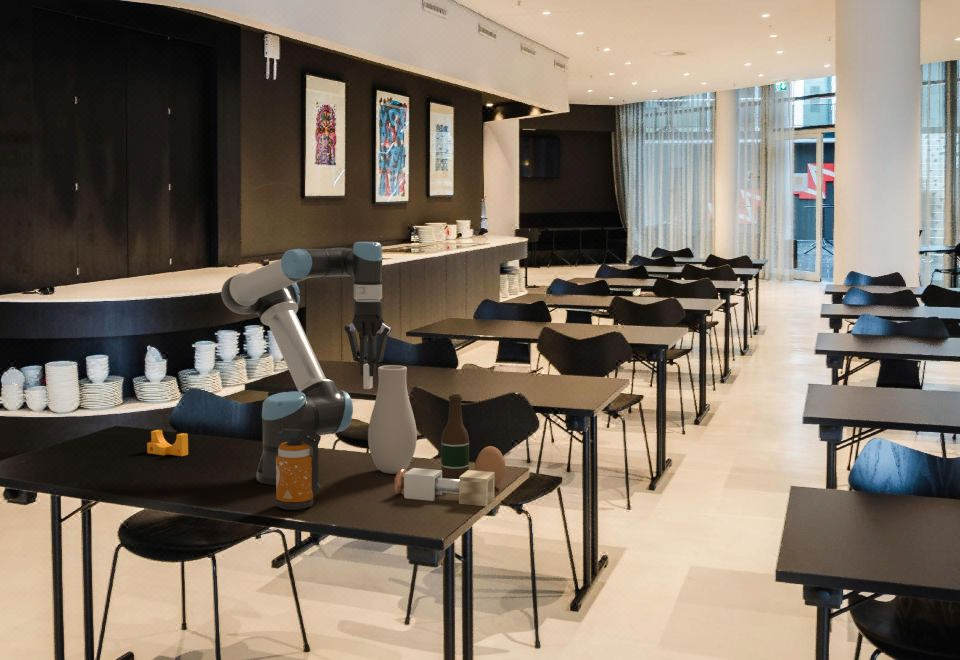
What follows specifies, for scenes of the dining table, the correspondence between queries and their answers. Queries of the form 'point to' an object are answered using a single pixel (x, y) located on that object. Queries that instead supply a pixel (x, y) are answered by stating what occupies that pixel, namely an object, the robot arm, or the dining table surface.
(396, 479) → the bolt
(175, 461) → the dining table surface
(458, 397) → the beer bottle
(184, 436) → the pipe clamp
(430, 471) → the sleeve
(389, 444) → the vase
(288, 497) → the canister
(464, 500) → the socket
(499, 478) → the egg
